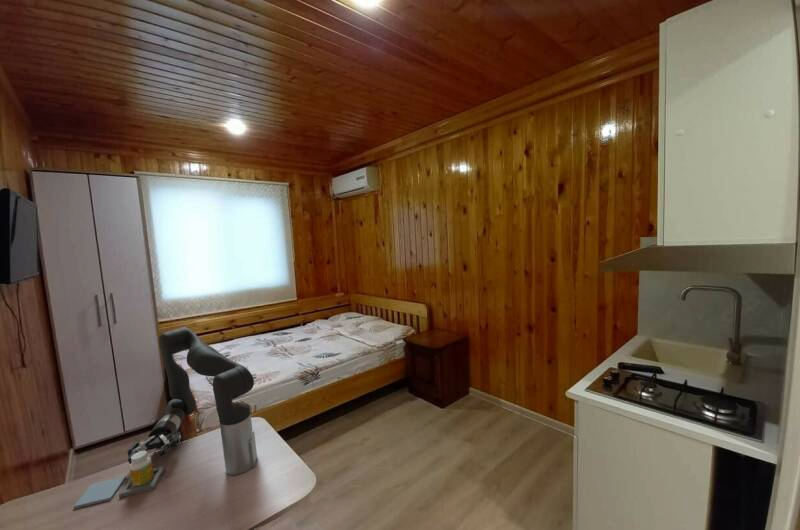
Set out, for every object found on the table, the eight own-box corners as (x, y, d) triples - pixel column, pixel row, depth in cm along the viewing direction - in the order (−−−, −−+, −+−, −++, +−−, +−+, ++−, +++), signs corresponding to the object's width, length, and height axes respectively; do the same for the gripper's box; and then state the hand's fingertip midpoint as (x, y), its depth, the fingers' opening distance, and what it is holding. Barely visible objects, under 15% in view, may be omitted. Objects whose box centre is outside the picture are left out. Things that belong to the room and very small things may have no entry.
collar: (165, 469, 109) (164, 466, 109) (153, 489, 100) (153, 485, 100) (133, 476, 106) (133, 473, 106) (119, 497, 98) (118, 494, 98)
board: (126, 478, 106) (125, 475, 106) (111, 499, 97) (110, 497, 97) (92, 485, 103) (92, 483, 103) (73, 508, 95) (73, 506, 94)
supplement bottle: (142, 490, 100) (137, 461, 99) (128, 488, 101) (123, 460, 100) (158, 477, 105) (154, 449, 104) (144, 475, 106) (140, 448, 105)
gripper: (141, 424, 119) (118, 453, 104) (186, 415, 123) (169, 442, 108) (144, 443, 120) (121, 474, 104) (188, 434, 124) (172, 462, 108)
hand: (146, 458), depth 106 cm, fingers open, 8 cm apart
